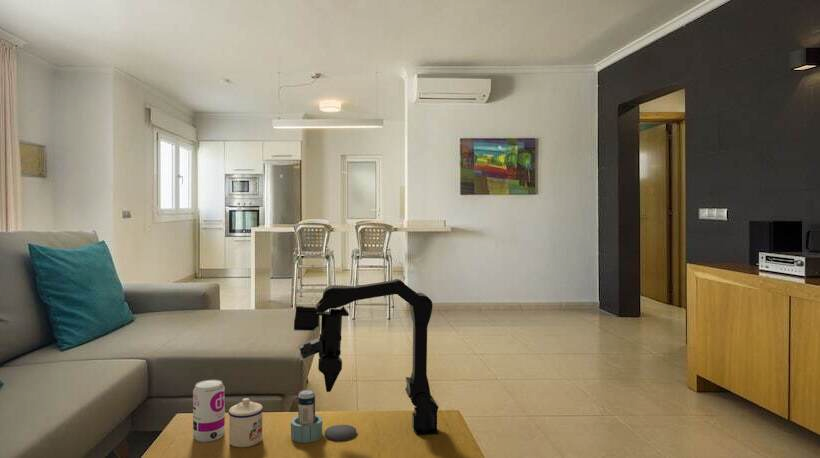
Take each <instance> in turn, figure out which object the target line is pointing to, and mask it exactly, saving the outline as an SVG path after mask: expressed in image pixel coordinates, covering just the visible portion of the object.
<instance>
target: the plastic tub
mask: <svg viewBox="0 0 820 458" xmlns="http://www.w3.org/2000/svg"><path fill="white" fill-rule="evenodd" d="M322 437H323V417H322V416H321V415H318V414H315V423H314V424H310V425H300V424H298V415H296V416H294V417H293V418H291V419H290V439H291V440H292V441H293V442H295V443H299V444H308V443H315V442H317V441H319V440H320V439H321V438H322Z"/></svg>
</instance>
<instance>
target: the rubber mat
mask: <svg viewBox="0 0 820 458" xmlns="http://www.w3.org/2000/svg"><path fill="white" fill-rule="evenodd" d="M356 436H357V428H355V426H353V425H349V424H337V425H336V424H335V425H331V426H328V428H326V429H325V430H324V437H325V439H327V440H330V441H332V442H333V441H335V442H344V441H348V440H351V439H353V438H355V437H356Z"/></svg>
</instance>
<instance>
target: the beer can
mask: <svg viewBox="0 0 820 458" xmlns="http://www.w3.org/2000/svg"><path fill="white" fill-rule="evenodd" d="M297 397H298V408H297V409H298V415H297V416H298V424H300V425H310V424H314V423H315V415H316V392H315V391H314V390H313V389H303V390H299V393H298V396H297Z"/></svg>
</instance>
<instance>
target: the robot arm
mask: <svg viewBox="0 0 820 458" xmlns="http://www.w3.org/2000/svg"><path fill="white" fill-rule="evenodd" d="M392 295H397V296H398V297H400V298H401V299H402V300H404V301H405V302H406V303H407V304H408V305H409V311H410V316H411V321H412V326H413V327H412V328H413V329H412V371H411V374H410V377H408V376H405V382H406V385H405V389H404V390H405V392H406V395H407V397H408V398H409V399H410V402H411V403H412V405H413V406H414V408H413V412H412V414H411V415H412V416H411V421H412V422H411V423H412V424H411V428H412V429H413V430H414V433H415V434H416V435H418V436H419V435H429V434H430V435H431V434H432V435H434V434H439V433H440V432H439V429H438V410H439V405H438V404H437V402H436V401H435V399H434V397H433V395H431V389H430V383H429V379H428V376H427V372H428V370H427V368H428V367H427V366H428V364H427V363H428V328H429V327H428V326H429V323H430V320H431V316H432V310H433V307H434V306H433V305H434V304H433V301H432V299H430V297H428V296H427V295H426V294H425V293H422V292H416V291H415V290H414V289H412V288H410V286H408V285H407V284H405V283H404V282H403V280H401V279H399V278H394V279H392V280H387V281H385V280H384V281H381V282H380V281H379V282H374V283H367V284H360V285H343V284H341V285H339V284H338V285H336V284H335V285H332V284H331V285H328V286H326V287H325V289H324V290H323V292H322V297H321V299H320V300H319V301H318V302H317V303H316V305H315V306H305V305H304V306H303V305H296V306H295V315H294V316H295V317H294V321H293V331H303V332H304V331H305V332H307V331H309V332H311V331H312V332H313V331H315V329H317V328H319V327H320V333H319V337H318V338H315V339H311V340H309V341H305V342H302V343H300V344H299V347H298V348H299V352H300V355H301V357H302V359H306V358H308V357H310V356H311V357H312V356H313V355H316V354H318V357H319V358H318V362H317V363H318V365H317V368H318V372H321V373H322V374H323V377H324V378H323V379H324V383H325V384H324V385H325V389H326V390H325V391H326V392H328V393H330V392H332V389H333V387H334V386H335V383H336V381H337V380H338V377H339V375H340V373H341V372H342V370H343V359H342V357H341V352H342V350H341V348H342V347H341V344H342V343H341V342H342V326H343V325H342V323H343V317H349V316H350V313H349V311H348V310H347V309H346V308H345V306H346V305H349V304H350V303H353V302H356V301H361V300H366V299H367V300H368V299H373V298H379V297H380V298H381V297H387V296H392ZM328 310H329V311H328ZM320 316H321V322H320ZM319 322H320V323H321V325H320V323H319Z"/></svg>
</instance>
